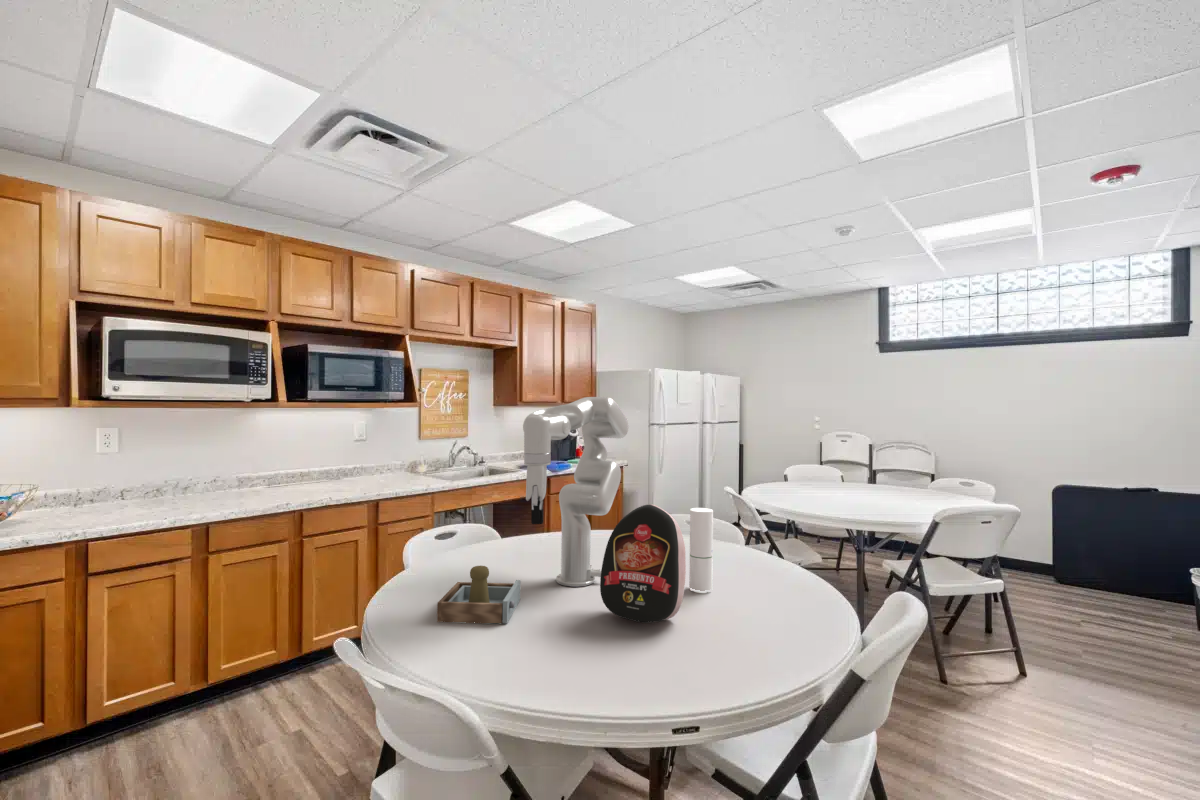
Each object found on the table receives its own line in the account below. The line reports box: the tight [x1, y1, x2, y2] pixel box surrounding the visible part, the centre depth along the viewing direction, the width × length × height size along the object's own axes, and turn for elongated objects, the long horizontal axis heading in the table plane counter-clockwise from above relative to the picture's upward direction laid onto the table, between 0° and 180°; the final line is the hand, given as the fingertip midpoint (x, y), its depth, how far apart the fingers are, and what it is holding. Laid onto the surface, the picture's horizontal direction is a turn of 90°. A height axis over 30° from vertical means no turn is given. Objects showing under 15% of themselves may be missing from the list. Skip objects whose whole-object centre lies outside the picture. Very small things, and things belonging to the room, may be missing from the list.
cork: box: [469, 565, 490, 603], centre depth 148 cm, size 6×6×11 cm
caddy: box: [436, 581, 514, 624], centre depth 148 cm, size 17×17×5 cm
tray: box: [448, 579, 521, 624], centre depth 148 cm, size 18×18×6 cm
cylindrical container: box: [688, 507, 714, 591], centre depth 168 cm, size 7×7×25 cm
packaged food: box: [599, 503, 687, 624], centre depth 145 cm, size 22×20×30 cm
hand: (537, 523), depth 152 cm, fingers closed
